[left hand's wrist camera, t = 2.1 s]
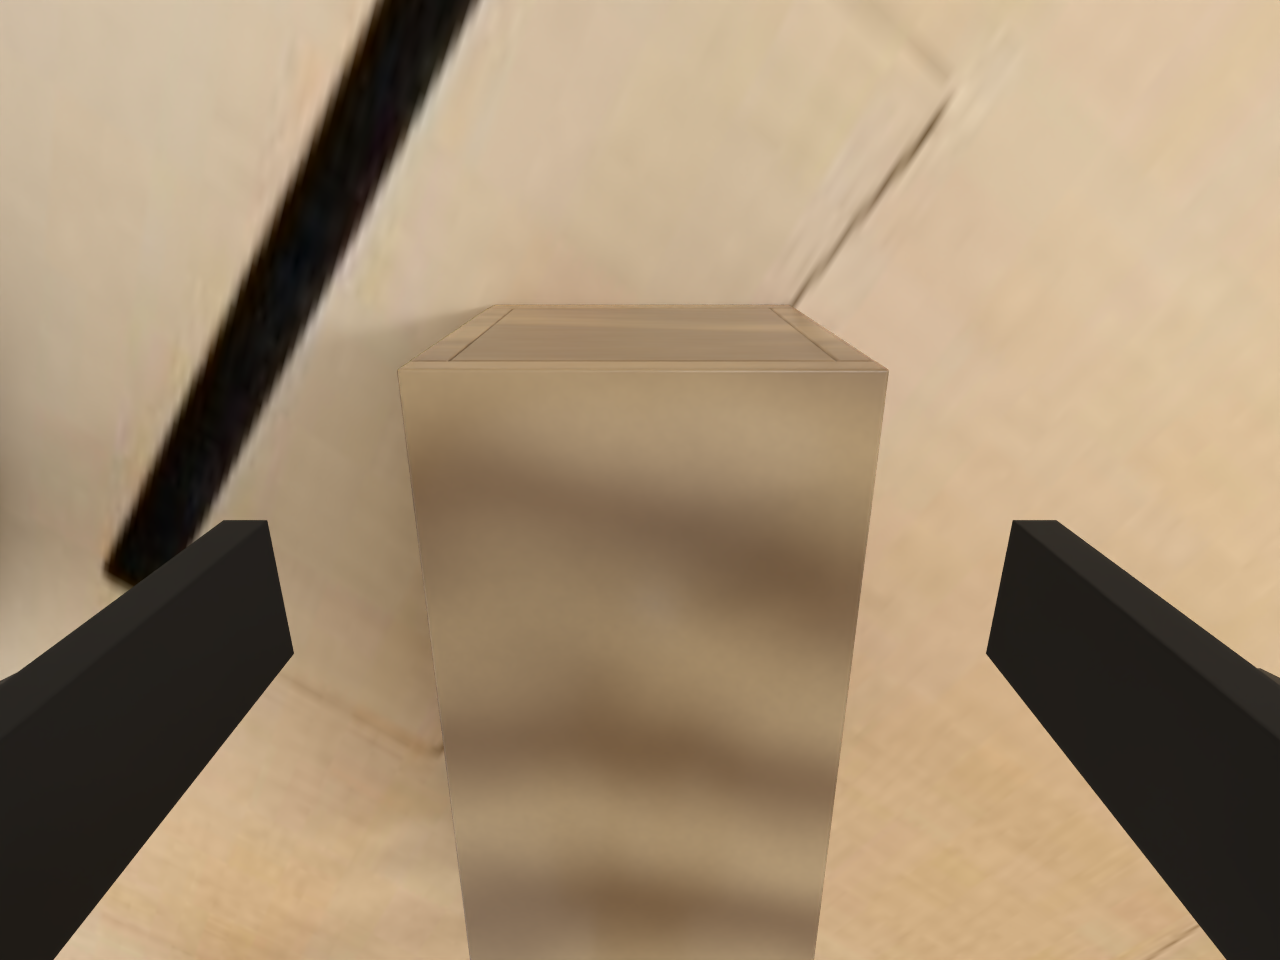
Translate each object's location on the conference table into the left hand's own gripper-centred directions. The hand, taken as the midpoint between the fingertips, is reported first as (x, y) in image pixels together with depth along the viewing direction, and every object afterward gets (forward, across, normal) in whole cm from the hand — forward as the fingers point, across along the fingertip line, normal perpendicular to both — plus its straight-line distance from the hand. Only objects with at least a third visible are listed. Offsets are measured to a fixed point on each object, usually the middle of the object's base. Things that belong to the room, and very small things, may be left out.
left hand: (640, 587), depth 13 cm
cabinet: (+14, 0, -7) cm, 15 cm away
